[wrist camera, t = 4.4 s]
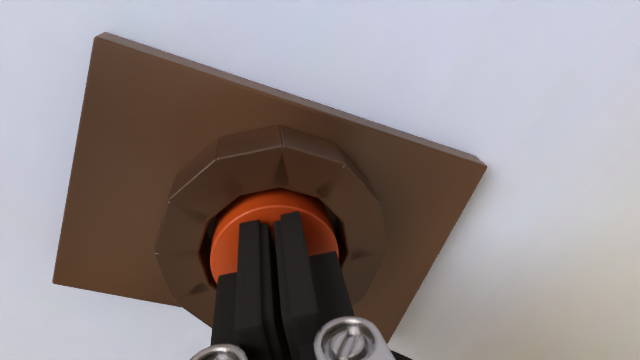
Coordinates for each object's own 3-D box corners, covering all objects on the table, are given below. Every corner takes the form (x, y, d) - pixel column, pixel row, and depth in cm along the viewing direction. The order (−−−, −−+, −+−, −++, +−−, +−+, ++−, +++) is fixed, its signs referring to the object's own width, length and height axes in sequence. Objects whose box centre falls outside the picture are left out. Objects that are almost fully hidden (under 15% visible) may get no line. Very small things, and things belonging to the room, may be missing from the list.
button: (201, 261, 14) (195, 298, 13) (233, 162, 13) (230, 190, 11) (306, 284, 15) (313, 321, 14) (346, 194, 14) (358, 224, 12)
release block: (61, 266, 15) (28, 320, 13) (103, 31, 12) (71, 46, 10) (381, 328, 18) (399, 380, 16) (476, 155, 15) (514, 189, 13)
